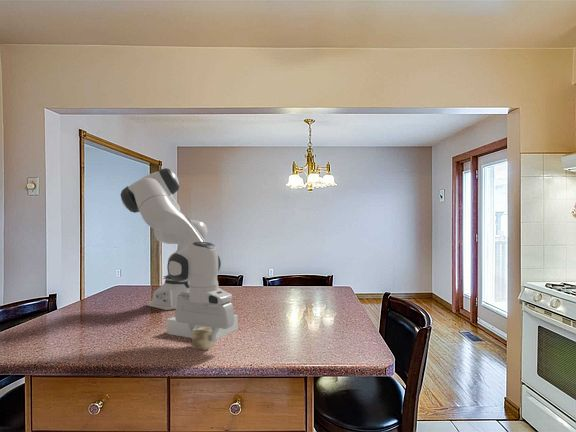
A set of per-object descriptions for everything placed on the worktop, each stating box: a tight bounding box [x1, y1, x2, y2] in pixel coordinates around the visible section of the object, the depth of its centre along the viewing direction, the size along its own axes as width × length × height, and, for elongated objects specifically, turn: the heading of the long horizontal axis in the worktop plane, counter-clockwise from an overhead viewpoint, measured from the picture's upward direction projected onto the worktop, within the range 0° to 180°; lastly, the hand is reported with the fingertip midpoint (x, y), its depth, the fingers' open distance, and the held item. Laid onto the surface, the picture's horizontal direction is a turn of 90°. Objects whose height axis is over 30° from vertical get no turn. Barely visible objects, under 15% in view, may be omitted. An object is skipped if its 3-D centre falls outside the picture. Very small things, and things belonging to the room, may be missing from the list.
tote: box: [166, 314, 239, 340], centre depth 132 cm, size 19×15×5 cm
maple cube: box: [191, 327, 216, 351], centre depth 117 cm, size 5×5×5 cm
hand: (203, 339), depth 117 cm, fingers closed on maple cube, 5 cm apart
